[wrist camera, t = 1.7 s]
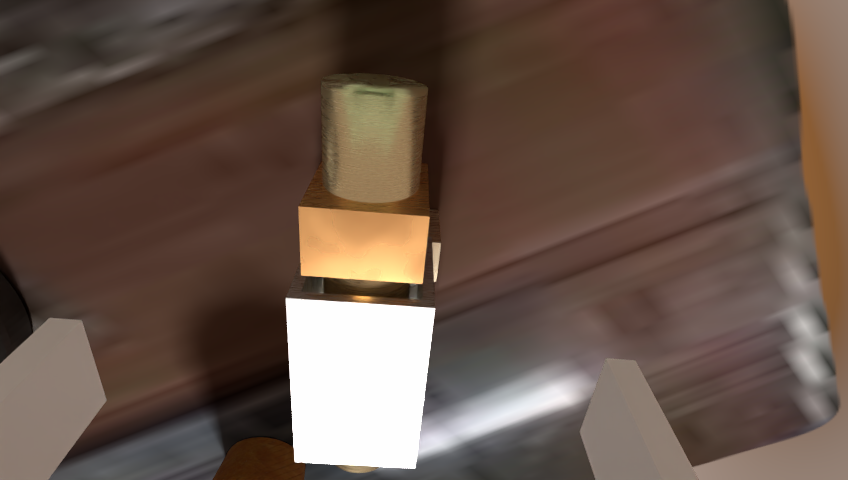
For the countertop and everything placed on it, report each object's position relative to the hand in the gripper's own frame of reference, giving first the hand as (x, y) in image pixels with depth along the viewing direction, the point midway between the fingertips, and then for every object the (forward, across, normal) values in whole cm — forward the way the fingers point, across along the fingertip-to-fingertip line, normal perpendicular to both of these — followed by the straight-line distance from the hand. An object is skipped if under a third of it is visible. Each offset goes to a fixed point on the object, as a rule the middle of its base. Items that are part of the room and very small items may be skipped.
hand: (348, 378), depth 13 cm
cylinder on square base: (+12, 0, -5) cm, 13 cm away
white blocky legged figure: (+17, 0, -8) cm, 18 cm away
